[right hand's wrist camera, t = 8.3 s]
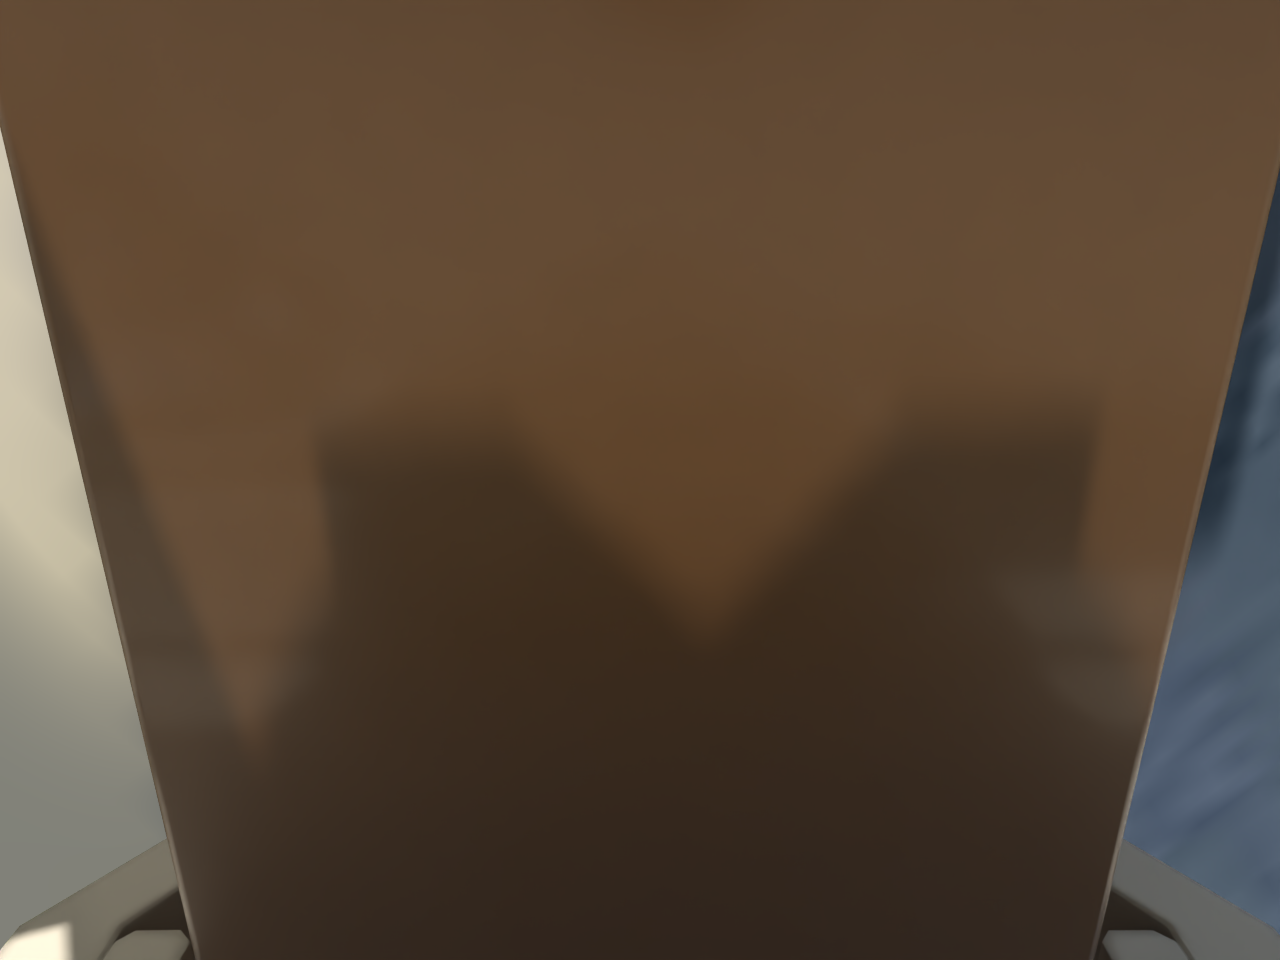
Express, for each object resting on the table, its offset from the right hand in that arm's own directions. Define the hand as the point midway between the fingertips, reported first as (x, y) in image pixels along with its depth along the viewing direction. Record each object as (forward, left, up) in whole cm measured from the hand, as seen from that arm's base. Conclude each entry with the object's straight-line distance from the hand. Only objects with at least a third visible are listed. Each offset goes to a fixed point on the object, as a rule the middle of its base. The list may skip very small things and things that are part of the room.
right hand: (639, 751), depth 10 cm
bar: (+7, 0, -4) cm, 8 cm away
